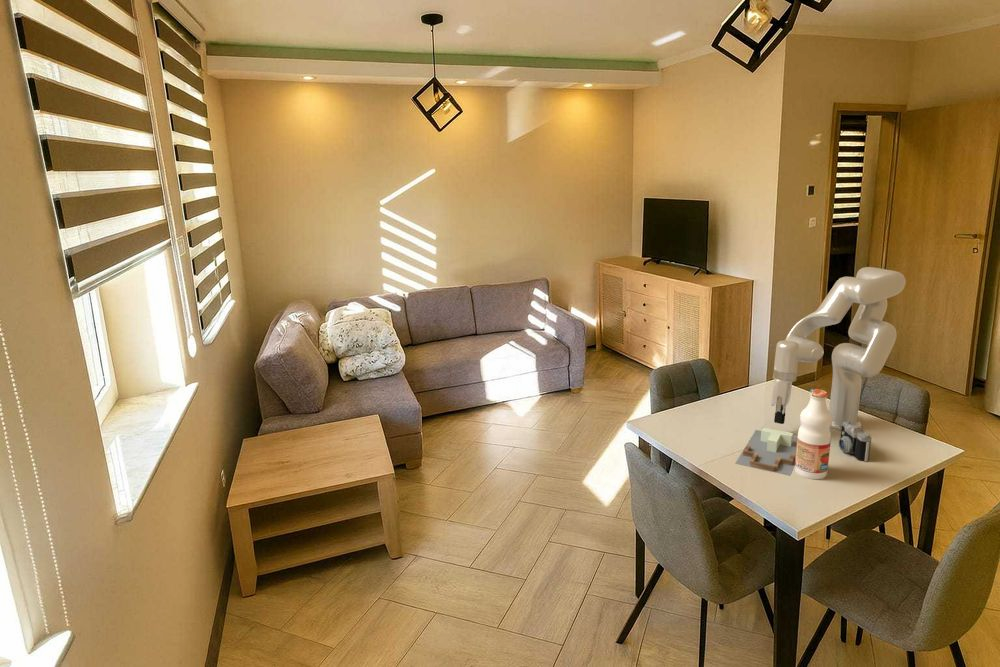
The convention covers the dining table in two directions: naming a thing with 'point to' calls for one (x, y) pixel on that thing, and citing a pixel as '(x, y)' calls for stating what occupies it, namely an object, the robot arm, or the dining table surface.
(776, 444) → the t block
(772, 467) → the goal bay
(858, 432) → the camera
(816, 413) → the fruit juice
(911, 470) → the dining table surface
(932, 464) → the dining table surface
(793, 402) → the dining table surface
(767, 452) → the mat
